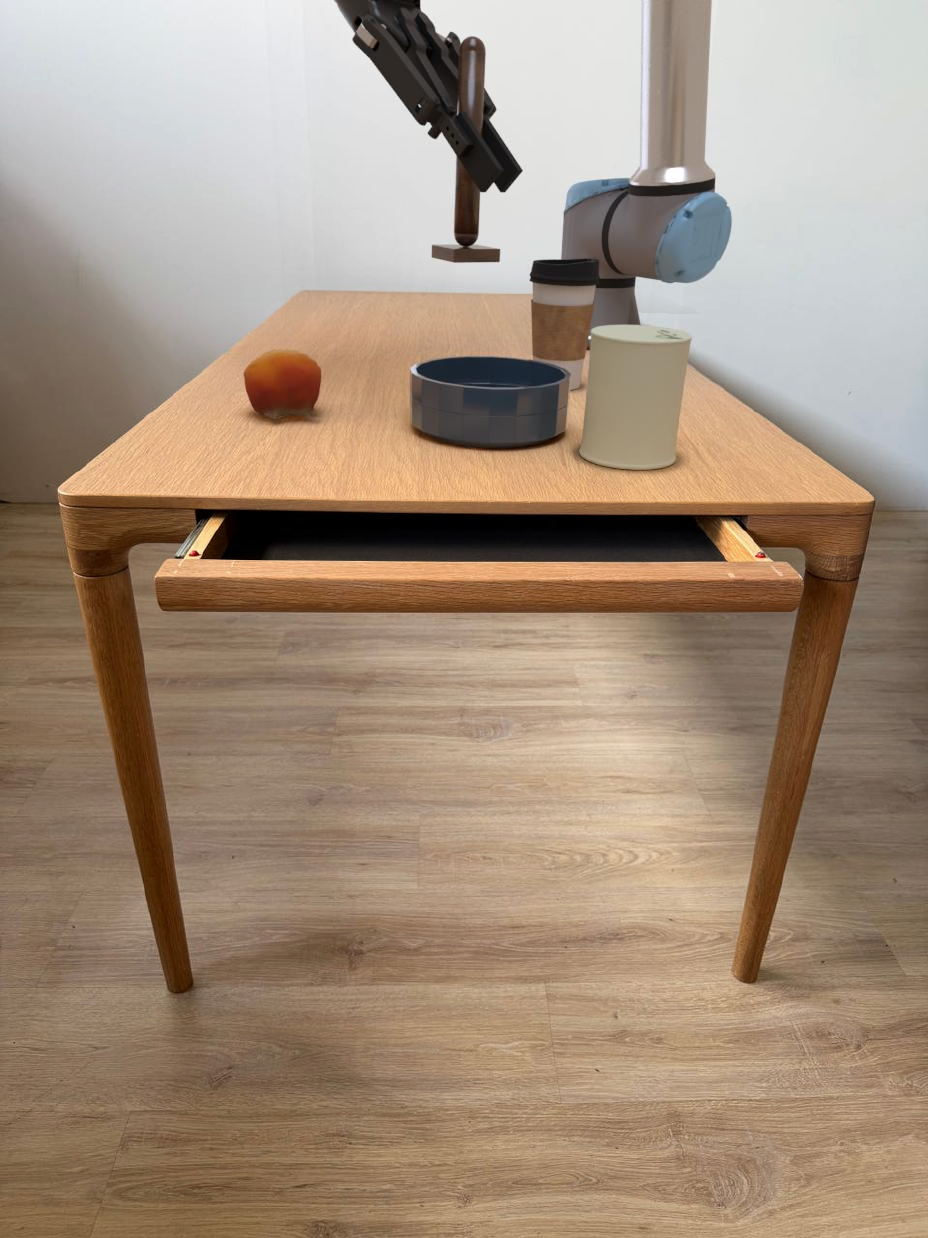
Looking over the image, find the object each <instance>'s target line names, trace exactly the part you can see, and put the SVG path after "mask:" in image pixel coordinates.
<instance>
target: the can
mask: <svg viewBox="0 0 928 1238" xmlns="http://www.w3.org/2000/svg"><path fill="white" fill-rule="evenodd" d="M692 340H693V336H692V334H690V333H689V332H686V331H684V330H679V329H676V328H670V327H666V326H665V327H664V326H655V325H643V324H641V325H606V326H599V327H595V328H593V329H592V330H591V344H590V348H589V357H588V358H589V359H588V371H587V383H586V393H585V394H586V395H585V405H584V415H583V427H582V435H581V443H580V447H579V450H578V451H579V455H580V456H581V457H582V459H584V460H586V461H588V462H590V463H593V464H595V465H598V466H601V467H602V466H603V467H606V468H611V469H621V470H630V471H647V470H657V469H662V468H667V467H670V466H671V465H673V464H674V463H675V462H676V461H677V453H676V452H677V451H676V450H677V440H678V433H679V432H678V431H679V425H680V424H679V423H680V418H681V409H682V403H683V395H684V388H685V382H686V376H687V375H686V374H687V368H688V361H689V354H690V347H691V343H692Z"/></svg>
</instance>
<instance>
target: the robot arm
mask: <svg viewBox="0 0 928 1238" xmlns="http://www.w3.org/2000/svg"><path fill="white" fill-rule="evenodd" d="M333 1H334V3H335V4H336V5H337V8H338V10H339V12H340V13H341V15H342V17H343V18H344V20H345V21H346V23H347V24H348V26H349V27H350V29H351V30H352V32H353V33H354V35H353V36H352V42H353V44H354V45H355V46H356V47H357V48H358V49H359V50H360V51H361V52H362V53H363V54H364V55H365V56H366V57H367V58H368V59H369V60H370V61H371V62H372V64H373V65H374V66H375V68H376V70H377V71H378V72H379V73H380V75H381V76H382V77H383V78H384V80H385V81H386V82H387V84H388V85H389V86H390V88H391V90H392V91H394V94H395V95H396V96H397V97H398V98H399V100H400V101H401V102H402V104H403V105H404V107H405V108H406V109H407V111H408V112H409V113H410V114H411V116H412V117H413V119H414V120H415V121H416V122H417V123H418V124H419V125H420V126H423V127H425V126H426V125H427V124H430V126H431V127H430V128H429V129H428V131H427V136H429V137H430V138H431V139H434V140H437V139H438V138H439V137H440V135H441V134H442V135H443V138H444V139H445V140H446V141H447V144H448V145H449V146H450V148H451V149H452V151H453V152H454V154H455V156H456V155H457V157H458V158H459V160H460V161H461V163H462V164H463V166H464V168H465V169H466V171H467V172H468V174H469V175H470V177H471V178H472V180H473V181H474V183H475V184H476V186H477V187H478V189H479V190H480V193H487V192H488V191H489V189H490V188H491V187H492V185H495V187H496V188H497V190H498V191H499V192H500V193H506V192H507V191H508V190H509V189H510V187H511V186H512V185H513V184H514V182H515V181H516V180H517V179H518V178H519V177H520V175H521V174H522V173H523V168H522V167H521V165H520V164H519V162H518V161H517V159H516V158H515V156H514V154H513V153H512V152H511V150H510V149H509V147H508V146H507V144H506V143H505V141H504V140H503V138H502V137H501V135H500V133H499V132H498V131H497V129H496V128H495V126H494V124H493V123H492V122H491V118H492V117H493V116H494V115H495V113H496V112H497V106H496V105H495V103H494V101H493V100H492V98H491V96H490V95H489V93H488V91H487V89H486V87H484V108H483V134H482V137H481V135H480V134H479V132H478V131H477V129H476V127H475V126H474V124H473V123H472V121H471V120H470V118H469V117H468V115H467V114H466V112H461V111H460V112H459V114H458V115H457V102H458V67H459V48H460V45H461V43H462V41H461V39H460V37H459V36H458V34H456V33H455V32H453V31H449V32H448V34H447V36H446V37H445V36H443V35H441V34H440V33H439V32H437V31H436V26H435V24H434V23H433V21H432V20H431V19H430V17H429V16H428V15H427V14H426V13H424V12H423V11H422V8H421V0H333ZM712 1H713V0H641V21H640V26H641V32H640V107H639V108H640V109H639V112H640V114H639V115H640V117H639V118H640V120H639V121H640V122H639V123H640V124H639V136H640V137H639V166H638V167H637V169H636V171H635V172H634V173H633V174H632V175H631V177H615V178H606V179H605V178H604V179H602V178H600V179H592V180H591V179H590V180H584V181H579V182H576V183H574V184H573V185H571V186H570V188H569V189H568V190H567V193H566V199H565V207H564V208H565V209H564V210H563V212H562V213H563V221H562V240H561V256H560V258H561V259H587V258H592V259H598V260H599V276H600V279H599V284H598V285H596V288H595V294H594V300H593V302H594V303H595V304H594V310H593V315H592V321H591V326H590V332H589V337H588V343H587V348H586V349H590V344H591V330H592V329H593V328H595V327H599V326H606V325H642V324H641V318H640V314H639V310H638V309H639V308H638V304H637V299H636V290H635V289H636V279H637V278H643V279H649V280H655V281H660V282H663V283H665V284H675V283H678V284H679V283H680V284H691V283H695V282H697V281H699V280H702V279H703V278H705V277H706V276H707V275H709V274H710V273H711V272H712V271H713V270H714V268H715V267H716V265H717V264H718V262H719V261H720V260H721V259H722V258H723V256H724V254H725V251H726V249H727V246H728V244H729V241H730V237H731V236H730V235H731V233H732V224H733V223H732V222H733V216H732V209H731V208H730V206H728V202H727V201H728V200H726V198H724V197H723V196H722V195H720V194H719V193H718V192H716V177H717V176H716V172H715V171H714V170H713V169H712V168H711V167H710V166H709V164H708V163H707V161H706V143H707V142H706V141H707V140H706V136H707V120H708V119H707V118H708V117H707V115H708V93H709V70H710V50H711V49H710V48H711V25H712V3H713V2H712Z"/></svg>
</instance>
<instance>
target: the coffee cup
mask: <svg viewBox="0 0 928 1238" xmlns="http://www.w3.org/2000/svg"><path fill="white" fill-rule="evenodd" d="M599 279H600V276H599V260H598V259H592V258H587V259H555V258H554V259H553V258H552V259H550V258H549V259H535V260H532V267H531V270H530V272H529V282H530V283H532V299H531V300H530V310H531V311H530V312H531V315H530V316H531V344H532V345H531V346H532V347H531V348H532V349H531V350H532V360H536V361H540V362H545V363H550V364H553V365H556V366H559V367H561V368H564V369H566V370H567V371H568V372H569V373H571V387H570V391H574V390H578V389H579V388H580V387H581V381H582V376H583V370H584V363H585V358H586V353H587V349H588V348H587V343H588V337H589V332H590V326H591V321H592V315H593V310H594V304H595V303H594V302H593V300H594V294H595V288H596V285H598V284H599Z"/></svg>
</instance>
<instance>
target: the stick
mask: <svg viewBox="0 0 928 1238" xmlns="http://www.w3.org/2000/svg"><path fill="white" fill-rule="evenodd" d="M486 52H487V51H486V45H485V44H484V42H483V40H481V39H480V38H479V37H477V36H473V35H470V36H467V37H465V38H464V39H463V40H462V41H461V45H460V48H459V67H458V102H457V115H458V114H459V112H460V111H461V112H466V114H467V115H468V117H469V118H470V120H471V121H472V123H473V124H474V126H475V127H476V129H477V131H478V132H479V134H480V135H481V137H482V134H483V108H484V88H485V79H486ZM454 173H455V178H454V213H453V237H454V240H455V242H456V243H457V244H432V245H431V258H432V259H437V260H441V261H445V262H449V263H454V264H455V263H457V264H458V263H459V264H460V263H467V264H468V263H471V264H472V263H500V261H501V248H496V247H491V246H485V245H481V244H476V242H477V241H478V238H479V233H480V208H481V207H480V206H481V205H480V204H481V192H480V190H479V189H478V187H477V186H476V184H475V183H474V181H473V180H472V178H471V177H470V175H469V174H468V172H467V171H466V169H465V168H464V166H463V164H462V163H461V161H460V160H459V158H458V157H457V155H456V154H455V172H454Z"/></svg>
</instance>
